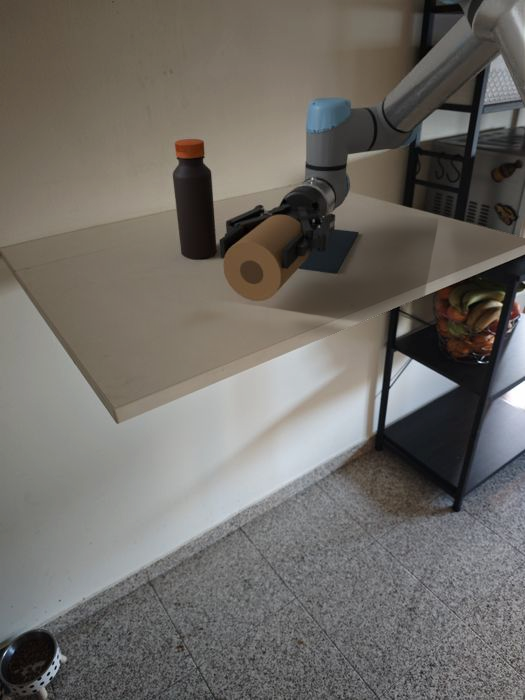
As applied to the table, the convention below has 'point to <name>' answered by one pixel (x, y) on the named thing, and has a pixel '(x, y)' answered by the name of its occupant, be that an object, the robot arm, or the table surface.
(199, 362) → the table surface
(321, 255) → the slate mat
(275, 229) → the paper roll
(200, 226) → the bottle
